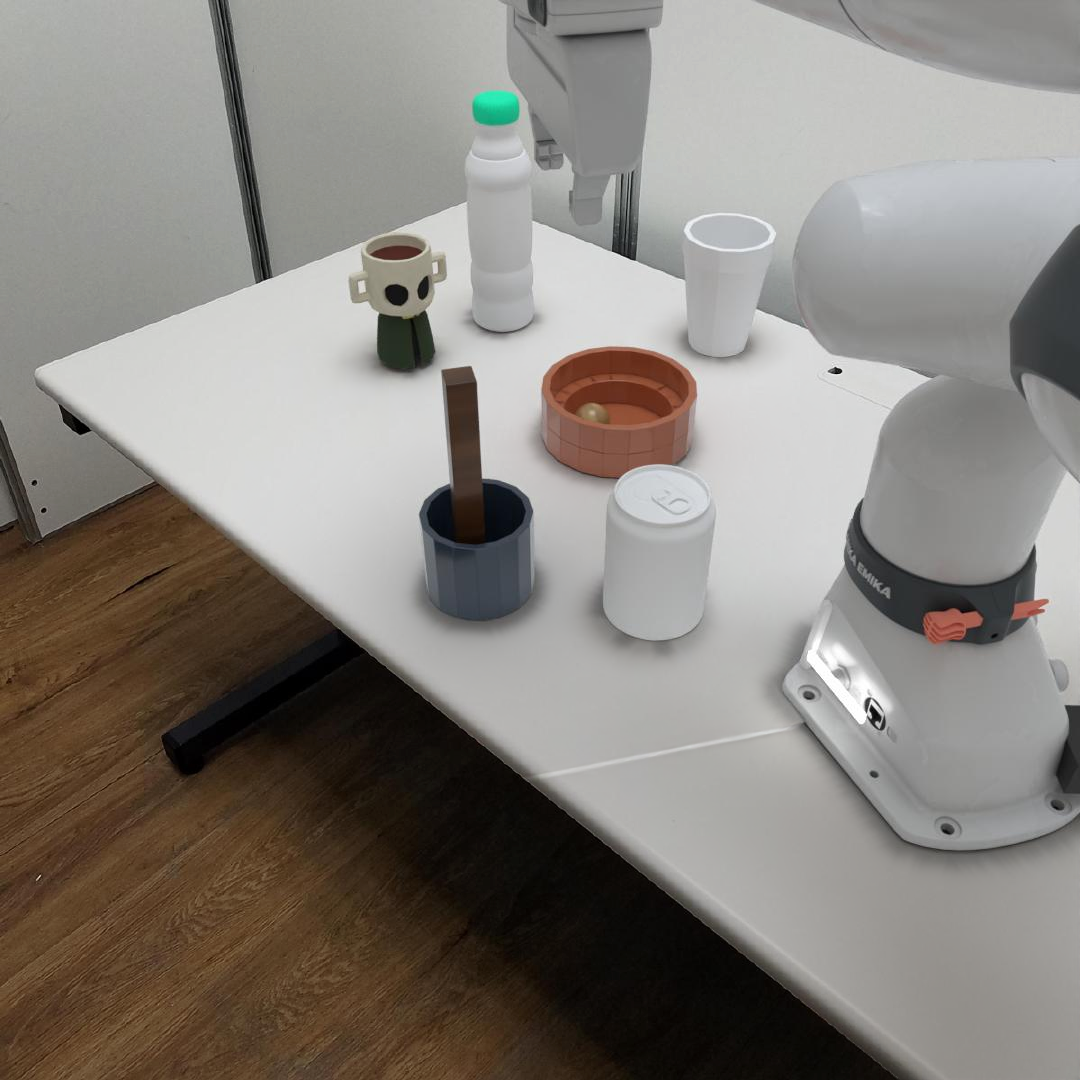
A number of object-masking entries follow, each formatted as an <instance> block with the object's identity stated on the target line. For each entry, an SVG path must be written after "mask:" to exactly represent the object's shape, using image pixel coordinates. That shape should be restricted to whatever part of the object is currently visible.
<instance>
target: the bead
mask: <svg viewBox="0 0 1080 1080" xmlns="http://www.w3.org/2000/svg"><path fill="white" fill-rule="evenodd" d="M574 415H576V416H578V417H580V418H582V419H585V420H589V421H593V422H598V423H602V424H610V416H609V414H608V412H607V410H606V409H605V408H604V407H603V406H601V405H599V404H596V403H587V404H584V405H582V406H581V407H580V408H578V410H577V411H576V412H575V414H574Z"/></svg>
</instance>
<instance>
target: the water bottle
mask: <svg viewBox="0 0 1080 1080" xmlns="http://www.w3.org/2000/svg"><path fill="white" fill-rule="evenodd" d="M471 110H472V117H473V120H474V124H475V125H476V126H477V134H476V136H475V137H474V139H473V141H472V142H471V143H472V144H471V149H470V150H469V152H468V154H467V156H466V159H465V163H464V177H465V179H466V182H467V183H466V217H467V218H466V219H467V232H468V233H467V234H468V235H467V236H468V242H469V244H468V245H469V251H470V252H469V253H470V260H471V262H470V283H471V288H472V295H471V311H472V312H471V313H472V318H473V320H474V322H475V323H476V324H477V325H478V326H480V327H481V328H483V329H485V330H488V331H492V332H497V333H498V332H500V333H505V332H514V331H517V330H520V329H522V328H524V327H526V326H528V324H529V323H531V322H532V320H533V318H534V315H535V302H534V301H535V300H534V293H533V284H534V267H533V262H532V254H533V253H532V252H533V200H532V187H531V178H532V174H533V173H532V172H533V167H532V166H533V165H532V162H531V159H530V157H529V155H528V153H527V151H526V149H525V147H524V144H523V141H522V140H521V137H520V136H519V134H518V133H517V131H516V126H517V125H518V124H519V118H520V110H521V109H520V100H519V97H518V96H517V95H516V94H515V93H514V92H510V91H508V90H507V91H506V90H486V91H483V92H480V93H478V94H476V95H475V97H474V98H473V100H472V107H471Z"/></svg>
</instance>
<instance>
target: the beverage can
mask: <svg viewBox="0 0 1080 1080" xmlns="http://www.w3.org/2000/svg"><path fill="white" fill-rule="evenodd" d="M716 516H717V508H716V504H715V501H714V499H713V497H712V492H711V489H710V486H709V485H708V483H707V482H706V481H705V480H704V479H703V478H702V477H701V476H699V475H698V474H696V473H695V472H693V471H691V470H689V469H686V468H685V467H684V468H683V467H681V466H677V465H660V464H658V465H647V466H642V467H638V468H635V469H633V470H631V471H629V472H627V473H625V474H624V475H623V476H622V477H621V478H619V479H618V480H617V481H616V483H615V485H614V488H613V489H612V491H611V492H610V494H609V496H608V499H607V502H606V513H605V536H604V537H605V540H604V560H603V561H604V562H603V588H602V607H603V608H602V609H603V612H604V614H605V616H606V618H607V620H609V622H610V623H611V624H612V625H613V626H614V627H615V628H616V629H618V630H619V631H620V632H623V633H624V634H626V635H628V636H631V637H634V638H637V639H641V640H645V641H668V640H674V639H676V638H679V637H682V636H684V635H686V634H688V633H689V632H691V631H692V630H694V629H695V628H696V627H697V626H698V624H699V623H700V622H701V621H702V618H703V616H704V615H703V614H704V612H705V611H704V610H705V605H706V604H705V603H706V596H707V587H708V580H709V573H710V572H709V571H710V565H711V557H712V548H713V540H714V533H715V525H716Z"/></svg>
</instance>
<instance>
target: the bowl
mask: <svg viewBox="0 0 1080 1080" xmlns="http://www.w3.org/2000/svg"><path fill="white" fill-rule="evenodd" d="M540 391H541V393H540V394H541V397H540V399H541V400H540V402H541V406H540V407H541V438H542V440H543V443H544V445H545V448H546V450H547V451H548V452H549V453H550V454H551V455H552V456H553V457H554V458H555V459H556V460H557V461H558V462H560V463H561V464H564V465H565V466H568V467H570V468H572V469H574V470H575V471H578V472H581V473H585V474H589V475H593V476H597V477H600V478H601V477H602V478H617V479H618V478H619V479H620V478H621V477H622V476H623V475H624V474H625V473H627V472H629V471H631V470H633V469H635V468H638V467H642V466H647V465H658V464H660V465H672V466H675V464H676V463H677V462H679V461H680V460H681V459H682V458H684V457H685V456H686V455H687V453H688V451H689V449H690V448H691V446H692V444H693V439H694V430H695V420H696V412H697V411H696V410H697V403H698V402H697V401H698V400H697V399H698V387H697V381H696V380H695V378H694V377H693V374H692V373H691V372H690V370H689V369H688V368H687V367H685V366H684V365H682V364H681V363H680V362H678V360H675V359H674V358H672V357H669V356H668V355H665V354H662V353H660V352H657V351H655V350H650V349H645V348H640V347H636V346H635V347H634V346H615V345H614V346H612V345H609V346H608V345H607V346H601V347H600V346H599V347H593V348H586V349H583V350H580V351H578V352H574V353H571V354H568V355H566V356H565V357H563V358H561V359H560V360H558V361H556V362H555V363H554V364H552V365H551V366H550V367H549V369H548V370H547V371H546V373H545V374H544V375H543V377H542V383H541V389H540ZM587 403H596V404H599V405H601V406H603V407H604V408H605V409H606V410H607V412H608V414H609V416H610V424H602V423H598V422H593V421H589V420H585V419H582V418H580V417H578V416H576V415H574V414H575V412H576V411H577V410H578V408H580V407H581V406H582V405H584V404H587Z"/></svg>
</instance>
